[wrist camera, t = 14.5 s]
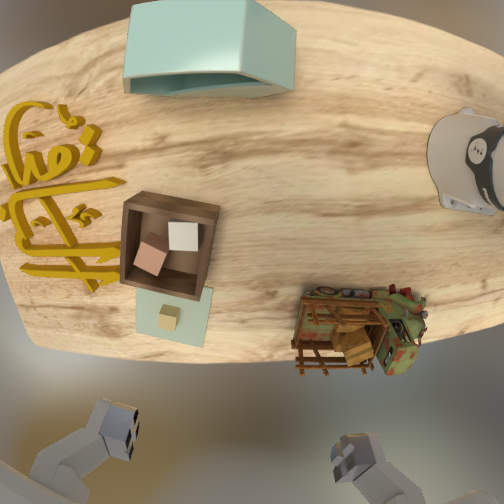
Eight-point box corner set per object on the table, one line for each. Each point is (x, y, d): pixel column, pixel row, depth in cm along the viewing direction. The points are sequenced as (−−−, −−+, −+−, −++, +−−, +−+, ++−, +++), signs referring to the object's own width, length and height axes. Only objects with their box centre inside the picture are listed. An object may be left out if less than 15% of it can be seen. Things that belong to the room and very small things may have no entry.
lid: (214, 286, 48) (211, 298, 44) (203, 344, 53) (200, 358, 49) (139, 269, 46) (131, 280, 43) (137, 328, 51) (131, 341, 48)
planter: (207, 101, 40) (83, 95, 24) (210, 55, 37) (90, 32, 21) (312, 99, 32) (192, 59, 16) (315, 44, 29) (202, -29, 12)
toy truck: (405, 330, 52) (437, 381, 38) (286, 328, 50) (296, 392, 37) (423, 284, 47) (465, 330, 34) (297, 275, 46) (314, 334, 32)
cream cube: (202, 214, 41) (197, 223, 38) (202, 240, 43) (198, 251, 39) (175, 213, 41) (168, 222, 37) (176, 239, 43) (169, 249, 39)
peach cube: (173, 243, 43) (166, 253, 39) (164, 264, 44) (157, 276, 41) (150, 231, 42) (141, 241, 38) (142, 253, 44) (133, 264, 40)
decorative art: (-8, 112, 31) (124, 79, 32) (2, 112, 34) (132, 82, 35) (11, 279, 44) (132, 297, 45) (19, 273, 47) (138, 288, 48)
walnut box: (219, 206, 42) (214, 220, 35) (206, 278, 46) (199, 301, 40) (142, 190, 41) (123, 201, 34) (135, 262, 45) (119, 282, 39)
